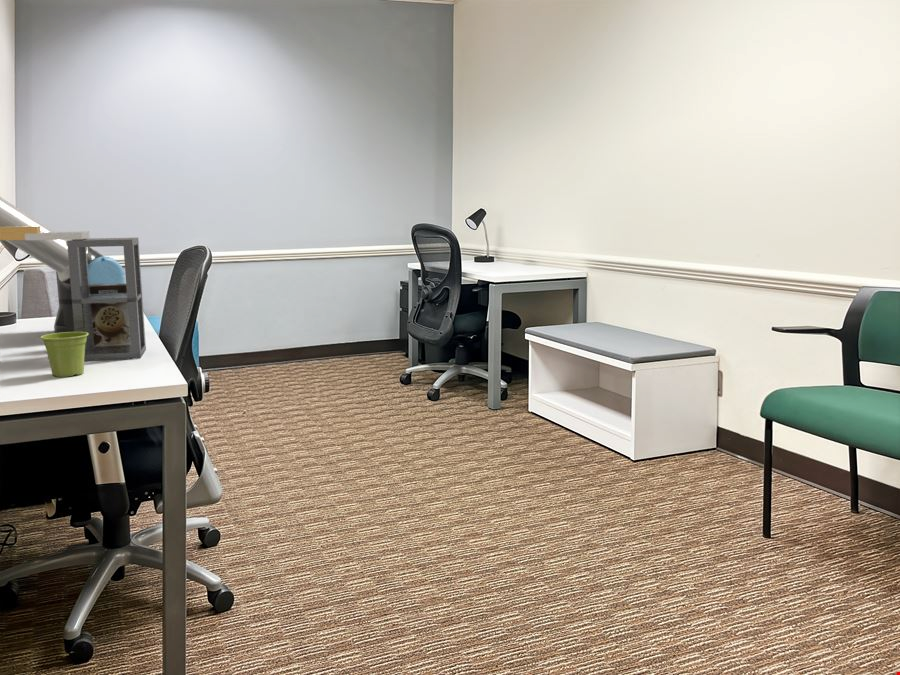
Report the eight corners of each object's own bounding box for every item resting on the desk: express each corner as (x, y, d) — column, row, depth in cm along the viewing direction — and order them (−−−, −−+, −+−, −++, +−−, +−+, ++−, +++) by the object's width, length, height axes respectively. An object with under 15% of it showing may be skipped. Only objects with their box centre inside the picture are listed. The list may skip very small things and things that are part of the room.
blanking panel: (-21, 239, 195) (-22, 226, 195) (89, 237, 201) (88, 225, 201) (-34, 241, 186) (-35, 227, 185) (82, 239, 192) (81, 226, 191)
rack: (84, 352, 206) (75, 238, 201) (146, 349, 209) (138, 237, 205) (75, 361, 194) (65, 240, 190) (140, 358, 198) (132, 239, 193)
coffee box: (93, 349, 210) (88, 286, 208) (93, 346, 216) (88, 283, 213) (131, 347, 213) (127, 284, 211) (131, 343, 219) (126, 282, 217)
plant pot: (38, 380, 174) (34, 339, 172) (50, 371, 183) (47, 332, 182) (86, 377, 176) (82, 337, 174) (95, 369, 185) (92, 330, 183)
